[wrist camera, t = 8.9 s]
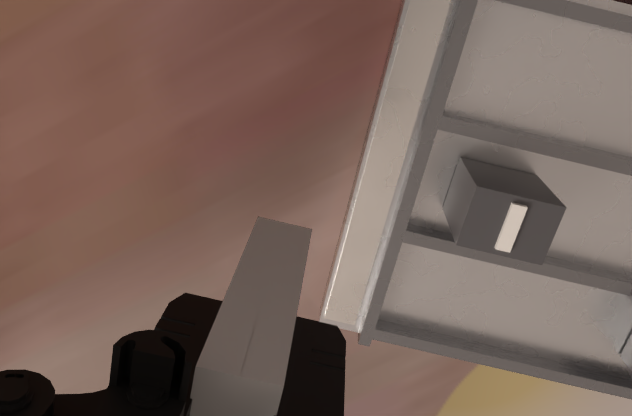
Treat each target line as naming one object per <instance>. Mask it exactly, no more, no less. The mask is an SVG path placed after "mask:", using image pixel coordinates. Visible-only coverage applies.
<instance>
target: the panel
mask: <svg viewBox="0 0 632 416" xmlns="http://www.w3.org/2000/svg"><path fill="white" fill-rule="evenodd" d="M460 157H463V158H467V159H472V160H476V161H480V162H484V163H488V164H493V165H497V166H501V167H505V168H509V169H513V170H518V171H522V172H526V173H530V174H534V175H537V176H538V177H539V178H540V179H541V180H542V181H543V182H544V183H545V184H546V186H547V187H548V188H549V189H550V190H551V191H552V192H553V193H554V194H555V195H556V197H557V198H558V199H559V200H560V201H561V202H562V203H563V204H564V205H565V206H566V207H567V208H566V210H565V213H564V215H563V217H562V220H561V222H560V224H559V227H558V229H557V231H556V234H555V236H554V239H553V241H552V243H551V246H550V248H549V250H548V253H547V255H546V257H545V260H544V262H543V264H542V265H538V264H534V263H529V262H525V261H521V260H517V259H512V258H508V257H504V256H500V255H495V254H491V253H487V252H483V251H478V250H474V249H470V248H466V247H461V246H457V245H456V244H455V241H454V239H453V236H452V233H451V230H450V228H449V225H448V222H447V220H446V217H445V214H444V211H443V206H444V203H445V200H446V197H447V194H448V191H449V188H450V185H451V182H452V179H453V176H454V173H455V170H456V167H457V164H458V161H459V158H460ZM319 322H323V323H327V324H332V325H336V326H338V328H341V329H345V330H349V331H354V332H358V344H361V345H365V346H370V344H371V340H372V339H373V340H378V341H382V342H386V343H391V344H395V345H399V346H404V347H408V348H412V349H417V350H421V351H425V352H430V353H434V354H438V355H442V356H447V357H451V358H455V359H460V360H464V361H468V362H473V363H477V364H481V365H486V366H490V367H494V368H499V369H503V370H507V371H512V372H516V373H520V374H525V375H529V376H533V377H537V378H542V379H546V380H550V381H555V382H559V383H564V384H568V385H572V386H577V387H581V388H585V389H589V390H594V391H598V392H602V393H607V394H611V395H615V396H620V397H624V398H628V399H632V373H631V372H630V370H629V369H628V367H627V366H626V364H625V363H624V361H623V360H622V359H621V357H620V355H621V353H622V351H623V349H624V347H625V345H626V343H627V341H628V339H629V337H630V335H631V334H632V5H630V4H626V3H622V2H617V1H613V0H402V3H401V7H400V11H399V15H398V18H397V22H396V26H395V30H394V33H393V37H392V41H391V45H390V48H389V52H388V56H387V60H386V63H385V67H384V71H383V75H382V78H381V82H380V86H379V90H378V93H377V97H376V101H375V105H374V108H373V112H372V116H371V120H370V123H369V127H368V131H367V135H366V138H365V142H364V146H363V150H362V153H361V157H360V161H359V165H358V168H357V172H356V176H355V180H354V183H353V187H352V191H351V195H350V198H349V202H348V206H347V210H346V214H345V217H344V221H343V225H342V229H341V232H340V236H339V240H338V244H337V247H336V251H335V255H334V259H333V262H332V266H331V270H330V274H329V277H328V281H327V285H326V289H325V292H324V296H323V300H322V304H321V307H320V315H319Z"/></svg>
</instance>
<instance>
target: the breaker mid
mask: <svg viewBox="0 0 632 416" xmlns="http://www.w3.org/2000/svg"><path fill="white" fill-rule="evenodd" d="M566 208H567V207H566V206H565V205H564V204H563V203H562V202H561V201H560V200H559V199H558V198H557V197H556V195H555V194H554V193H553V192H552V191H551V190H550V189H549V188H548V187H547V186H546V184H545V183H544V182H543V181H542V180H541V179H540V178H539V177H538V176H537V175H534V174H530V173H526V172H522V171H518V170H513V169H509V168H505V167H501V166H497V165H493V164H488V163H484V162H480V161H476V160H472V159H467V158H463V157H460V158H459V161H458V164H457V167H456V170H455V173H454V176H453V179H452V182H451V185H450V188H449V191H448V194H447V197H446V200H445V203H444V206H443V211H444V214H445V217H446V220H447V222H448V225H449V228H450V230H451V233H452V236H453V239H454V241H455V244H456V245H457V246H461V247H466V248H470V249H474V250H478V251H483V252H487V253H491V254H495V255H500V256H504V257H508V258H512V259H517V260H521V261H525V262H529V263H534V264H538V265H542V264H543V262H544V260H545V257H546V255H547V253H548V250H549V248H550V246H551V243H552V241H553V239H554V236H555V234H556V231H557V229H558V227H559V224H560V222H561V220H562V217H563V215H564V213H565V210H566Z"/></svg>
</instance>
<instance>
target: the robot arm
mask: <svg viewBox="0 0 632 416" xmlns="http://www.w3.org/2000/svg"><path fill="white" fill-rule="evenodd" d="M311 232H312V229H309V228H305V227H301V226H297V225H292V224H288V223H284V222H279V221H275V220H271V219H266V218H262V217H258V218H257V221H256V223H255V226H254V228H253V230H252V233H251V235H250V238H249V240H248V242H247V245H246V247H245V249H244V252H243V254H242V257H241V259H240V261H239V264H238V266H237V269H236V271H235V273H234V276H233V278H232V281H231V283H230V285H229V288H228V290H227V293H226V295H225V297H224V300H223V301H219V300H215V299H211V298H206V297H202V296H197V295H193V294H189V293H184V294H183V295H181V296H179V297H178V298H176V299H174V300H173V301H171V302H170V303H169V304H168V306H167V308H166V309H165V311H164V313H163V315H162V317H161V319H160V320H159V321H158V323H157V325H156V327H155V330H145V331H137V332H133V333H131V334H128V335H126V336H124V337H122V338H121V339H120V340H119V341H117V342H116V343H115V344H114V345H113V354H112V363H111V372H110V382H109V386H108V388H107V389H105V390H101V391H97V392H93V393H84V394H55V389H54V387H53V385H52V383H51V381H50V380H48V379H47V378H45V377H44V376H43V375H41V374H40V373H36V372H32V371H28V370H5V371H1V372H0V416H344V390H345V356H346V340H345V338H344V337H343V335H342V333H341V331H340V330H339V328H338V326H336V325H332V324H327V323H323V322H318V321H314V320H310V319H305V318H301V317H297V310H298V305H299V299H300V293H301V288H302V282H303V277H304V271H305V266H306V260H307V254H308V249H309V243H310V238H311Z"/></svg>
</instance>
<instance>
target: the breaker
mask: <svg viewBox="0 0 632 416" xmlns="http://www.w3.org/2000/svg"><path fill="white" fill-rule="evenodd" d="M620 357H621V359H622V360H623V361H624V363H625V364H626V366H627V367H628V369H629V370H630V372H631V373H632V334H631V335H630V337H629V339H628V341H627V343H626V345H625V347H624V349H623V351H622V353H621V355H620Z"/></svg>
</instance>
